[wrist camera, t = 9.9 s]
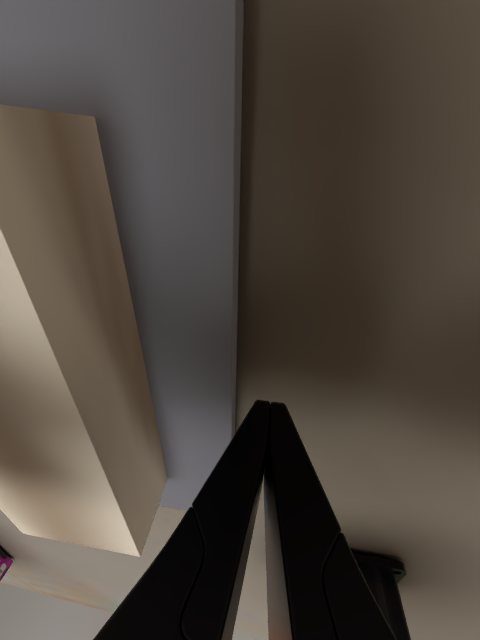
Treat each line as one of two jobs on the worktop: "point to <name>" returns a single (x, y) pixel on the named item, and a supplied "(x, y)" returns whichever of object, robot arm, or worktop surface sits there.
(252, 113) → the worktop surface
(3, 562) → the candy bar box
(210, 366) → the underlay mat
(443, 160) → the worktop surface
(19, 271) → the birch plank
